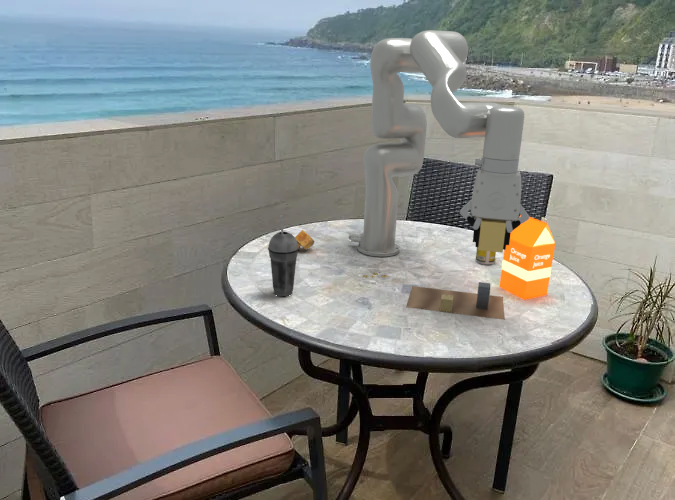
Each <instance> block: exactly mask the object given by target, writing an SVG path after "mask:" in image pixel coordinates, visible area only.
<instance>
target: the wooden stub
mask: <svg viewBox="0 0 675 500" xmlns="http://www.w3.org/2000/svg"><path fill="white" fill-rule="evenodd" d="M452 303H453V296H451V295H442V296H441V305H440V311H444V312H443V313H448V312H452ZM440 311H439V312H440Z"/></svg>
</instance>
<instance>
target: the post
mask: <svg viewBox="0 0 675 500" xmlns="http://www.w3.org/2000/svg"><path fill="white" fill-rule="evenodd" d="M476 294H477V301H476V308H478V309H486V310H488V303H489V295H490V294H491V283H490V282H481V281H478V286H477V293H476Z"/></svg>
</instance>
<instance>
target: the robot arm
mask: <svg viewBox="0 0 675 500" xmlns="http://www.w3.org/2000/svg"><path fill="white" fill-rule="evenodd" d="M468 53H469V45H468V42H467V39H466V38H465V37H464V35H462V34H461V33H459V32H457V31H454V30H453V31H449V30H438V29H437V30H436V29H435V30H433V29H432V30H430V29H428V30H423V31H421V32H418V33H416V34H415V35H414V36H413V37H411V38H409V37H408V38H407V37H389V38H388V37H387V38H384V39H381V40H380V41H378V42H377V43H376V44H375V46H374V47H373V49H372V51H371V53H370V55H371V56H370V64H369V65H370V73H371V74H370V75H371V80H372V101H371V115H370V116H371V119H370V120H371V121H370V122H371V123H370V125H371V126H370V128H371V133H372V134H373V136H374V137H375V138H378V139H382V140H388V139H389V140H391V139H392V140H393V139H395V140H396V139H402V140H401V141H402V142H386V143H385V142H384V143H383V142H382V143H376V144H372V145H371V146H369V147H368V148H367V149H366V150H365V151H364V154H363V161H362V162H363V168H364V178H365V181H364V182H365V188H364V190H365V193H364V212H363V213H364V214H363V215H364V216H363V230H362V231H363V232H362V233H359V234H356V233H349V235H348V240H350V242H352V243H353V242H354V243H358V244H357V250H358V252H359V253H362V254H363V255H366V256H371V257H378V258H380V257H381V258H384V257H385V258H386V257H392V256H396V255H398V254H399V253H400V252H401V248H400V246H399V244H397V243H396V234H397V232H396V231H397V219H398V216H397V215H398V205H399V204H398V201H399V190H398V188H397V186H396V184H395V183H394V181H393V178H396V177H406V176H408V177H409V176H413V175H416V174H418V173H419V172H420V170H422V167H423V163H424V158H425V150H426V148H425V147H426V138H427V137H426V136H427V127H428V126H427V116H426V113H425V111H424V108H422V106H421V105H418V104H416V103H404V99H405V97H404V96H405V95H404V94H405V87H404V83H403V81H402V78H401V77H400V74H399V73H408V74H409V73H411V74H412V73H414V74H416V73H417V74H423V75H424V77H425V78H426V79H427V81H428V83H429V84H430V85H431V87H432V89H431V93H430V106H431V107H430V108H431V111H432V115H433V116H434V118H435V120H436V121H437V123H438V124H439V126H440V127H441V128H442V130H443V131H444V132H445V133H446V134H447V135H449V136H451V137H452V138H455V139H472V138H480V139H481V138H484V139H483V149H482V151H483V152H482V157H480V158H475V161H474V166H478V167H480V168H481V169H479V170H478V171H477V172H476V174H475V175H476V176H475V180H474V183H473V190H472V197H471V199H470V200H469V201H468V202H467V203H466V204H465V205H464V206H462V208H461V209H460V210H459V214H460V215H461V216H462V217H463V218H464V219H465V220H466V222H468V223H469V225H470V226H471V227H472V229H473V235H472V242H473V243H475V248H477V247H478V246H479V237H480V224H481V220H482V219H493V220H505V222H506V229H505V237H504V245H503V251H504V250H506V245H509V243H510V235H511V232H512V231H513V230H514V229H516V228H517V227H518V226H520V224H522V223H524V222H526V221H527V220H529V217H530V215H529V214H528V212H527V211H526V209H525V208H524V207H523V205H522V204H521V201H522V200H521V199H522V176H521V175H522V174H521V173H520V172H518V170H519V162H520V153H521V146H522V140H523V139H522V137H523V132H524V131H523V130H524V123H525V111H524V110H523V108H522V107H521V108H520V107H519V106H518V107H517V106H511V105H510V106H508V105H507V106H506V105H502V104H500V103H495V102H490V101H489V102H488V101H487V102H476V101H475V102H473V101H472V102H460V101H459V100H458V99H457V98H456V96H455V95H454V93H455V92H456V91H457V90H459V89H460V88H461V87H462V86H463V84H464V82H465V81H466V79H467V76H468V75H467V73H468V71H467V67H466V66H465V64H464V63H465V62H466V59H467V57H468V56H469V55H468ZM469 211H470V213H469ZM520 215H521V217H520Z"/></svg>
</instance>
